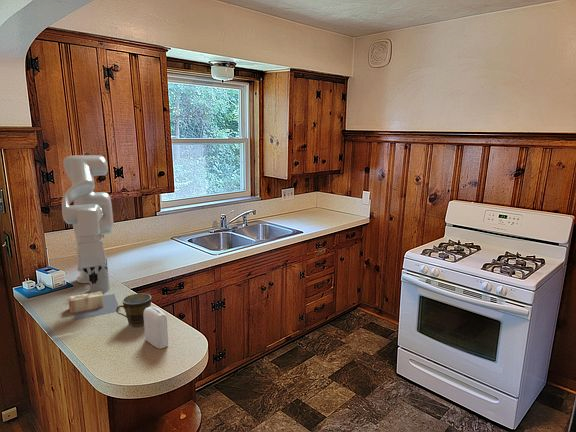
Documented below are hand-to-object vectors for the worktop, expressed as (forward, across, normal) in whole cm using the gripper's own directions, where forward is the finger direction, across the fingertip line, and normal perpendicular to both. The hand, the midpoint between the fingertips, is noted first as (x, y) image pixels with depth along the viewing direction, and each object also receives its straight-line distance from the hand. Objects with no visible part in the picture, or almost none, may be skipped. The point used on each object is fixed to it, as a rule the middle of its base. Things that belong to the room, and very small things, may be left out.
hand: (93, 282), depth 155 cm
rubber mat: (+11, 0, 0) cm, 11 cm away
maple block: (+8, -3, 0) cm, 8 cm away
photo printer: (+11, -15, +41) cm, 45 cm away
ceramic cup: (+11, -11, +24) cm, 29 cm away
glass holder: (+11, -3, -20) cm, 23 cm away
